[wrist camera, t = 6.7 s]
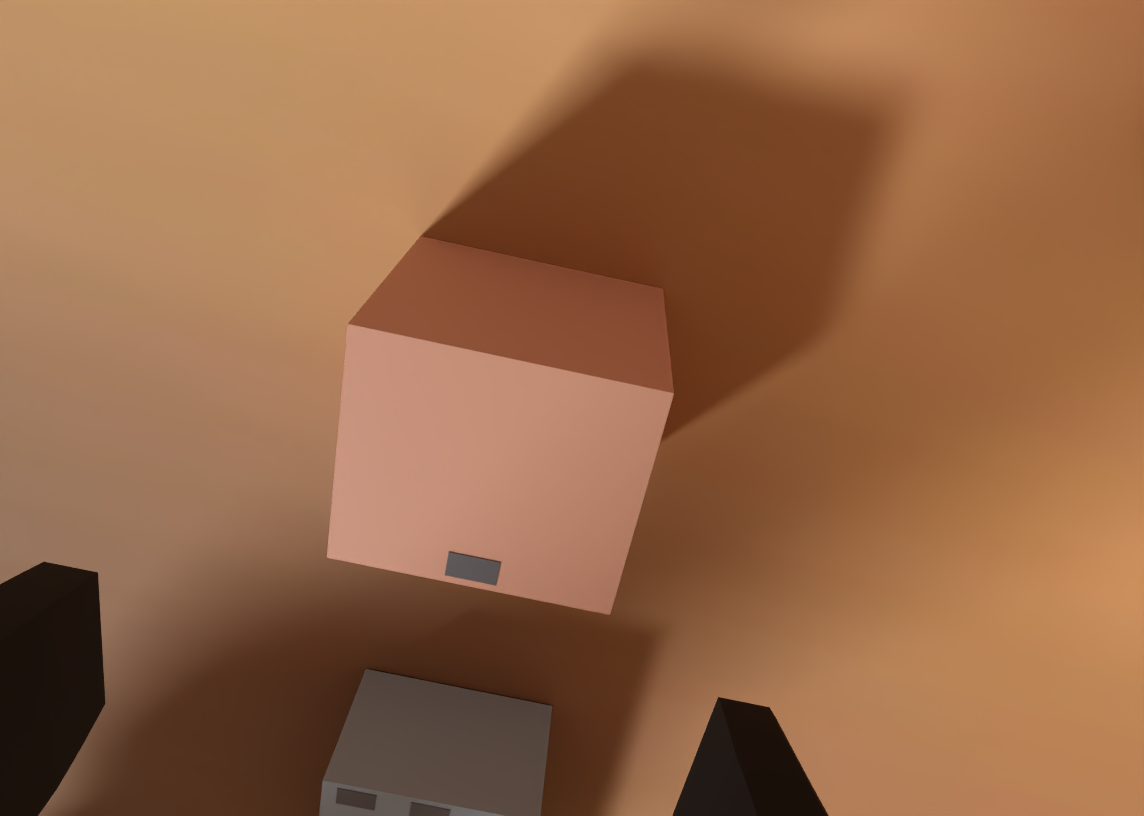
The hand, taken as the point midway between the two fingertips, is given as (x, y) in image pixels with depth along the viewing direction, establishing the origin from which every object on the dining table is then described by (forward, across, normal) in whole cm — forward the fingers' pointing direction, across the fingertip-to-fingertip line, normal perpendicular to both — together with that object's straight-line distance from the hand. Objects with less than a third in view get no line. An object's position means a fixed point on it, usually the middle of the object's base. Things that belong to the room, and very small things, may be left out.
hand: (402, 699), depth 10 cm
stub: (+10, 0, 0) cm, 10 cm away
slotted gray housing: (+9, 0, +13) cm, 16 cm away
